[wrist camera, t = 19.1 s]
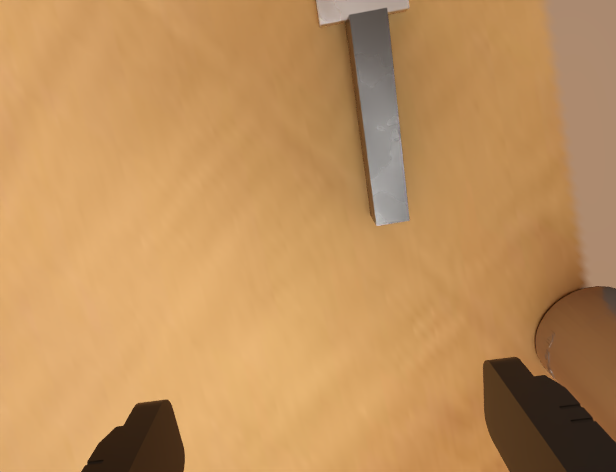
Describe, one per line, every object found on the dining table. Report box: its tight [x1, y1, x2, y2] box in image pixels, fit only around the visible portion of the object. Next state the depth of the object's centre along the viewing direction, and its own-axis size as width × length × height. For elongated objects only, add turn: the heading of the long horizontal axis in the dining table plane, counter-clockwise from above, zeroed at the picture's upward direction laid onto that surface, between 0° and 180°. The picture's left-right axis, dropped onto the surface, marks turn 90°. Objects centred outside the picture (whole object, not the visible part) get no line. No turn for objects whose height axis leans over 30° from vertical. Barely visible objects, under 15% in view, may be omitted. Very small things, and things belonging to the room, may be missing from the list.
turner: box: [315, 0, 410, 226], centre depth 29 cm, size 22×6×3 cm, turn 10°
